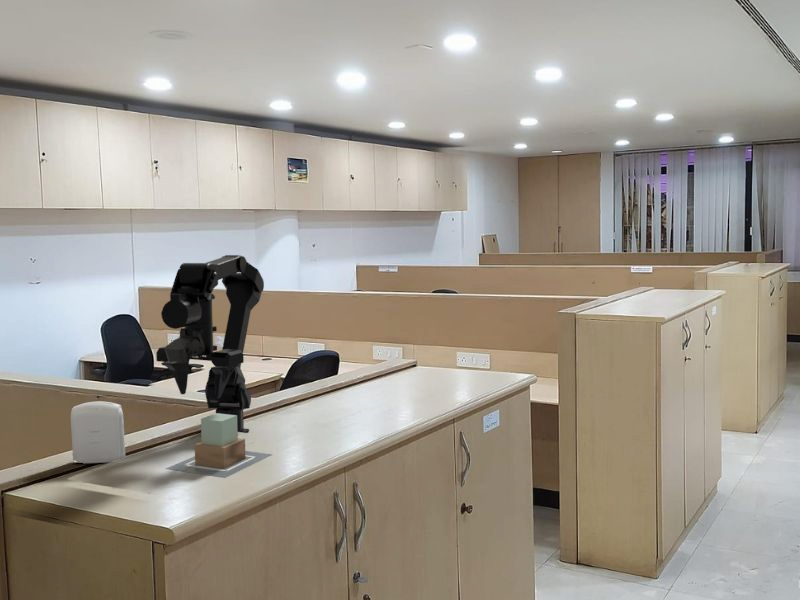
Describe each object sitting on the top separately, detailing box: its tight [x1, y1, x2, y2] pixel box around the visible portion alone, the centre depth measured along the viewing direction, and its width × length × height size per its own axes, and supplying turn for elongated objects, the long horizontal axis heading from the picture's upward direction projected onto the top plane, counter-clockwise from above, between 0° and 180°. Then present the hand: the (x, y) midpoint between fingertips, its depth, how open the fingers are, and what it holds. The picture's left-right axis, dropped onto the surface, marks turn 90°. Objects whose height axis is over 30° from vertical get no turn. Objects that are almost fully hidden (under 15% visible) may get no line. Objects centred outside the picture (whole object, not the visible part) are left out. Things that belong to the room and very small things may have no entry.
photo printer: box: [70, 400, 126, 464], centre depth 158 cm, size 10×4×12 cm, turn 96°
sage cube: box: [200, 412, 239, 446], centre depth 154 cm, size 5×5×5 cm
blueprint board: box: [165, 450, 273, 479], centre depth 155 cm, size 16×14×1 cm
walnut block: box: [194, 437, 246, 468], centre depth 154 cm, size 7×7×4 cm
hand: (200, 395), depth 164 cm, fingers open, 9 cm apart
